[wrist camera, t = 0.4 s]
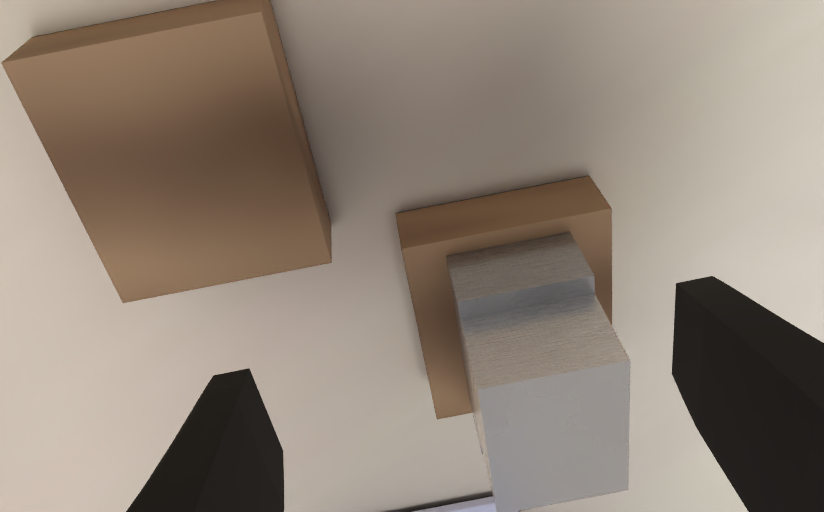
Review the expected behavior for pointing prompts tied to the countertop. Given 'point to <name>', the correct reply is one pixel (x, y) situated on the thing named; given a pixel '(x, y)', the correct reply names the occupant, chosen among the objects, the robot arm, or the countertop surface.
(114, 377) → the countertop surface
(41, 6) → the countertop surface
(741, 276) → the countertop surface
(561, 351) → the block
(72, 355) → the countertop surface
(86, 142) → the stand
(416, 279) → the stand
